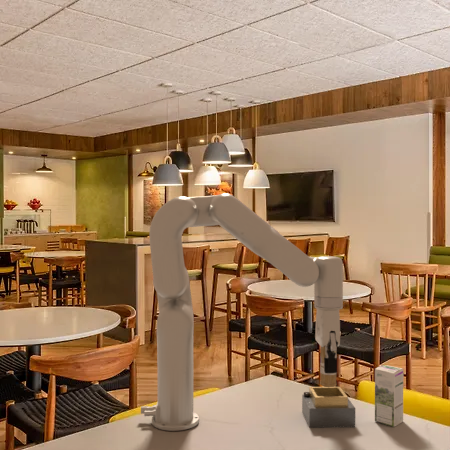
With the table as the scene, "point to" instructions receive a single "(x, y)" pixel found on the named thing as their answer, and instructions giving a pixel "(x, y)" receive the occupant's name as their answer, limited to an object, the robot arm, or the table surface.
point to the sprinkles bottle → (326, 378)
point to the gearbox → (327, 408)
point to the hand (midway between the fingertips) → (328, 369)
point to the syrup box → (389, 395)
